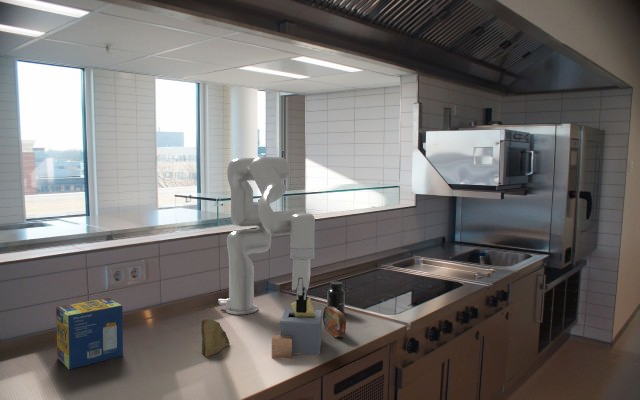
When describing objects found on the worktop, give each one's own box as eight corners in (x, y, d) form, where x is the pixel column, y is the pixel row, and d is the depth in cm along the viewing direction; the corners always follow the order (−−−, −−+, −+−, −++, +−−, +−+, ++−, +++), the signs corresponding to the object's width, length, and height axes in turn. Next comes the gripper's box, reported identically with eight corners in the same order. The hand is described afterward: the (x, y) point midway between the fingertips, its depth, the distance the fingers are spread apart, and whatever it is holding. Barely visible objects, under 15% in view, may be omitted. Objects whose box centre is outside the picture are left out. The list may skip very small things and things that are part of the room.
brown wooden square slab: (291, 358, 142) (291, 339, 141) (271, 358, 142) (271, 338, 142) (292, 355, 144) (292, 336, 144) (272, 354, 145) (273, 335, 144)
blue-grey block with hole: (280, 353, 146) (280, 320, 145) (285, 338, 158) (285, 309, 157) (319, 354, 145) (319, 322, 144) (321, 340, 157) (321, 310, 156)
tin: (322, 326, 170) (322, 303, 170) (330, 325, 171) (330, 302, 171) (338, 341, 156) (338, 316, 156) (347, 340, 157) (347, 315, 157)
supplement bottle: (343, 316, 182) (343, 285, 181) (325, 315, 183) (325, 284, 182) (345, 311, 188) (346, 281, 187) (328, 309, 190) (329, 280, 189)
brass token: (315, 317, 149) (309, 299, 149) (297, 322, 149) (291, 304, 149) (316, 314, 151) (309, 296, 151) (298, 320, 152) (292, 302, 152)
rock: (225, 332, 156) (195, 333, 151) (233, 316, 151) (202, 317, 146) (231, 362, 149) (200, 364, 144) (240, 346, 144) (208, 347, 139)
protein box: (56, 359, 139) (55, 306, 138) (110, 345, 150) (109, 297, 149) (68, 370, 132) (67, 315, 130) (124, 355, 142) (123, 304, 141)
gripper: (293, 248, 157) (292, 303, 159) (287, 257, 141) (286, 318, 142) (316, 248, 157) (315, 303, 158) (312, 258, 141) (311, 319, 142)
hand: (301, 310), depth 150 cm, fingers closed on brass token, 2 cm apart
